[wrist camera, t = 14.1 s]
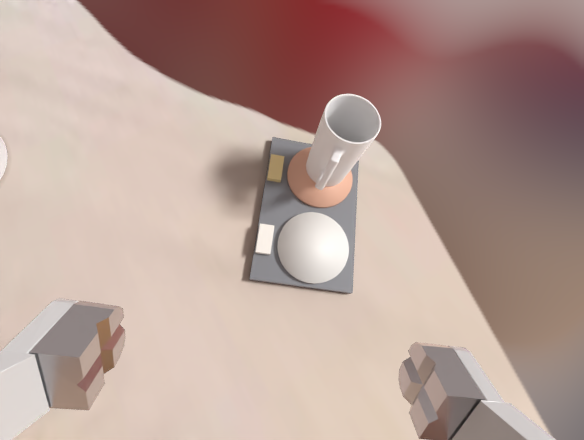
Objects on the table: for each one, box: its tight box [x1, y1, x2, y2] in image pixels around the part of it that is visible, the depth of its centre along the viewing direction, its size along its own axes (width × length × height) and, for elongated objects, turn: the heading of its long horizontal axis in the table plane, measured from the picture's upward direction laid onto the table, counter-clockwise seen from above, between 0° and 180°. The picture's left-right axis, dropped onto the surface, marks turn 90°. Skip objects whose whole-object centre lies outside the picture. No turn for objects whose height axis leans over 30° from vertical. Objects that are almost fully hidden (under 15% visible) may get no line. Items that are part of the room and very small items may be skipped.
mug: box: [306, 94, 381, 190], centre depth 39 cm, size 10×7×12 cm, turn 157°
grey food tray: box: [250, 137, 359, 294], centre depth 43 cm, size 14×22×2 cm, turn 173°
